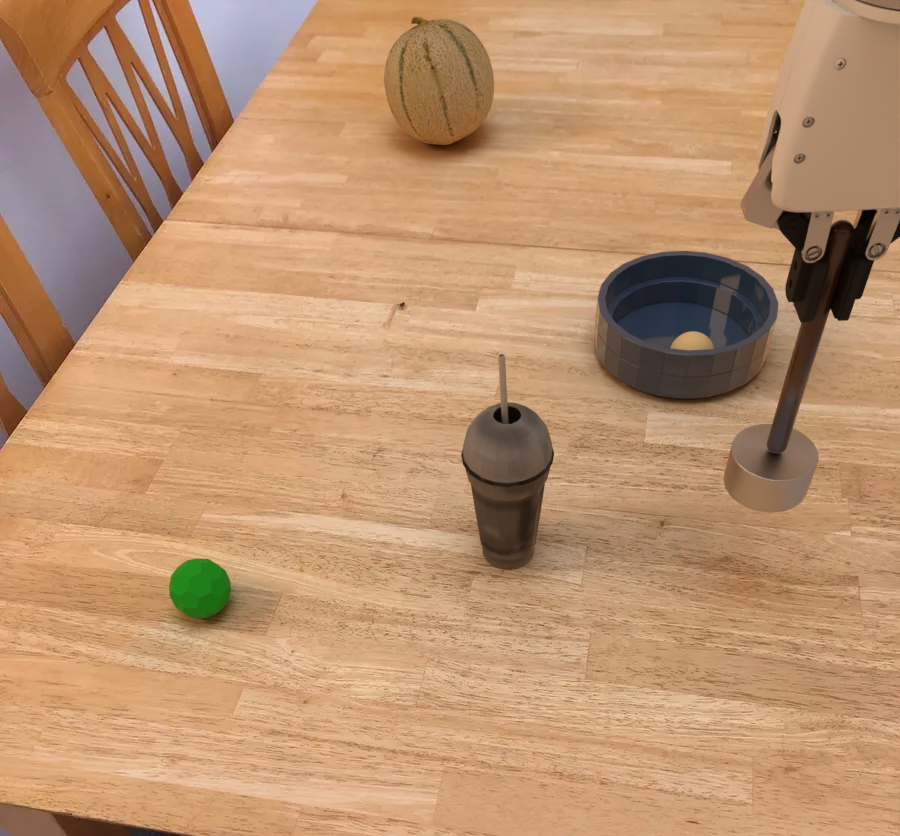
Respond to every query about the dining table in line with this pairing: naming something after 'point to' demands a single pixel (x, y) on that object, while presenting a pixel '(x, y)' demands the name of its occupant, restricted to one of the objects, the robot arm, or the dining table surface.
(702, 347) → the yellow ball
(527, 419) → the beverage cup
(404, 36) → the cantaloupe
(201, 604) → the polyhedron
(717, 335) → the bowl
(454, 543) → the dining table surface
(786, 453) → the weighted rod stand
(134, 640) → the dining table surface
